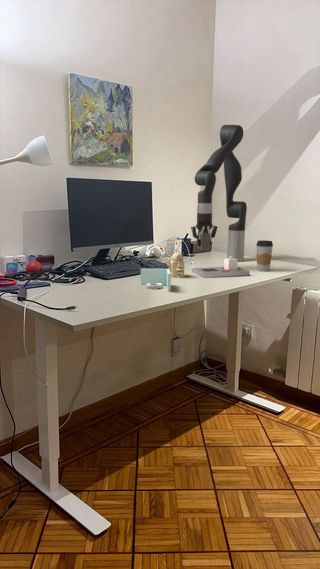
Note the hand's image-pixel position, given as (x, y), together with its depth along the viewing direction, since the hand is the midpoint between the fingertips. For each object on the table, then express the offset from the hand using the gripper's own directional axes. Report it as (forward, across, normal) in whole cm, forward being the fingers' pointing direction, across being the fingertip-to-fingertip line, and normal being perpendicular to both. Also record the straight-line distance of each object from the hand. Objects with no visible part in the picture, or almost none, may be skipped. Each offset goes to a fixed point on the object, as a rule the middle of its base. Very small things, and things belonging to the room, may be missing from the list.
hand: (203, 246), depth 234 cm
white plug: (+12, -8, +14) cm, 20 cm away
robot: (+12, +21, +16) cm, 29 cm away
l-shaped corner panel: (+12, +38, +36) cm, 53 cm away
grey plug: (+1, 0, 0) cm, 1 cm away
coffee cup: (+13, -30, +8) cm, 34 cm away
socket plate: (+12, -3, +14) cm, 18 cm away
